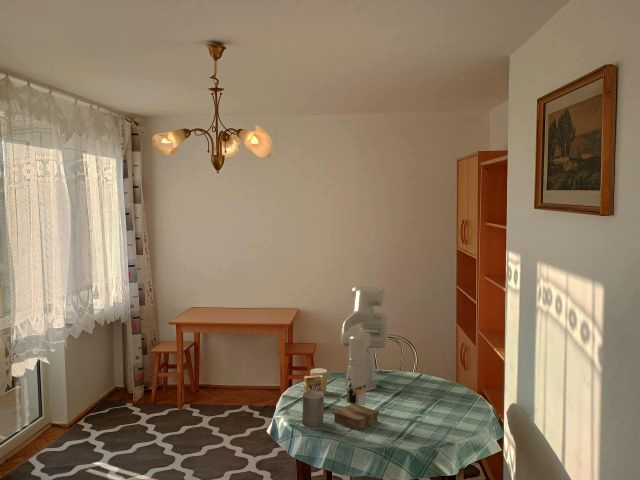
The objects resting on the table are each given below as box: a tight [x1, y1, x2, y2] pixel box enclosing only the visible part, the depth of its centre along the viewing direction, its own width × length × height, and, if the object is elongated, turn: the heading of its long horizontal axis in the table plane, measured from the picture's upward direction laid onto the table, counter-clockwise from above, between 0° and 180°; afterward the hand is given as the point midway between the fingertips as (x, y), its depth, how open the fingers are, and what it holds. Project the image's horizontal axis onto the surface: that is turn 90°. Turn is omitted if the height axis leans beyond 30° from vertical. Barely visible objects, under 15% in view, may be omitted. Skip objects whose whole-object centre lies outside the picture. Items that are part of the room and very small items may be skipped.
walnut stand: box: [332, 404, 380, 432], centre depth 268 cm, size 15×15×5 cm
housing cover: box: [352, 387, 366, 395], centre depth 267 cm, size 4×7×2 cm, turn 48°
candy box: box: [303, 375, 323, 393], centre depth 287 cm, size 9×4×15 cm, turn 107°
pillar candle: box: [301, 391, 325, 428], centre depth 265 cm, size 10×10×15 cm
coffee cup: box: [309, 367, 329, 395], centre depth 308 cm, size 9×9×12 cm
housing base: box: [346, 391, 367, 406], centre depth 267 cm, size 5×7×5 cm
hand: (356, 400), depth 267 cm, fingers closed on housing base, 5 cm apart
